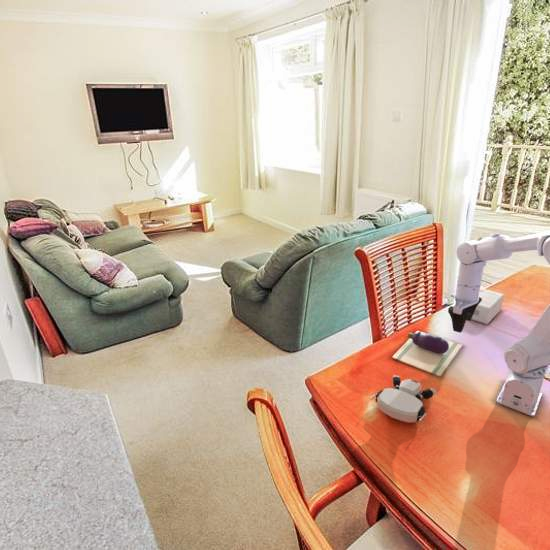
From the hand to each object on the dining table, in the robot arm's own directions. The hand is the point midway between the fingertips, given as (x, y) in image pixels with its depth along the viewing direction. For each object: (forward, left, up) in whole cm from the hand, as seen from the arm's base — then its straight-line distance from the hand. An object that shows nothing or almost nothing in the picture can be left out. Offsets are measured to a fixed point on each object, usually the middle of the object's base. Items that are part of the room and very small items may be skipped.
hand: (462, 325), depth 107 cm
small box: (+21, +2, -6) cm, 22 cm away
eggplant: (-5, +7, -9) cm, 12 cm away
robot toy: (-30, +3, -10) cm, 32 cm away
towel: (-5, +7, -9) cm, 13 cm away
